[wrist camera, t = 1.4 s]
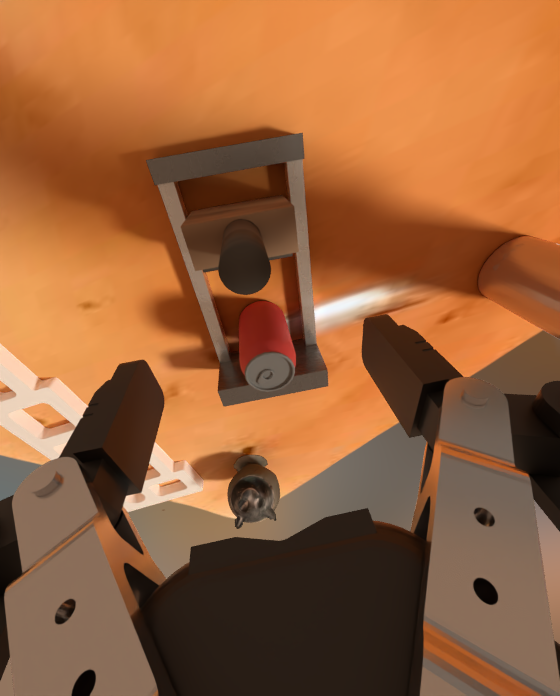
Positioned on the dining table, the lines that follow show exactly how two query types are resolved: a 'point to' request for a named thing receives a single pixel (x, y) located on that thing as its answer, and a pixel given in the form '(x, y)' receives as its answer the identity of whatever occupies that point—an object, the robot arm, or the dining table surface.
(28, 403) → the holder
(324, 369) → the frame
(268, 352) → the beer can
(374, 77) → the dining table surface
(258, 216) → the sliding jaw
